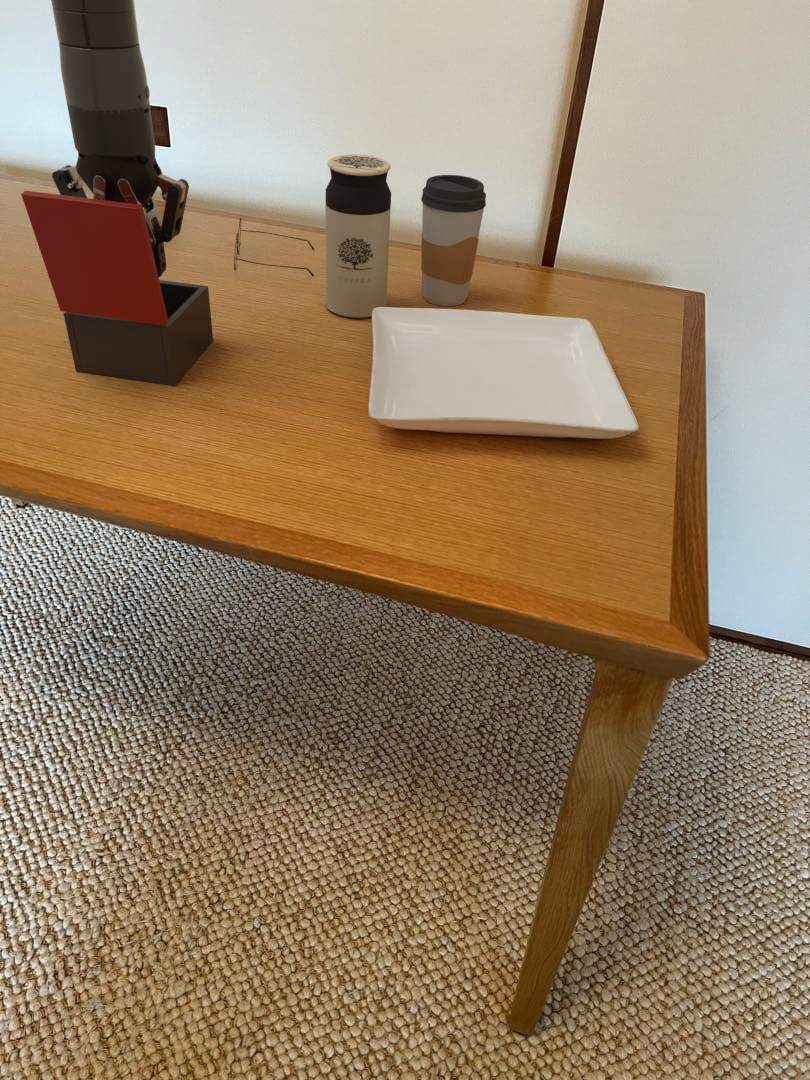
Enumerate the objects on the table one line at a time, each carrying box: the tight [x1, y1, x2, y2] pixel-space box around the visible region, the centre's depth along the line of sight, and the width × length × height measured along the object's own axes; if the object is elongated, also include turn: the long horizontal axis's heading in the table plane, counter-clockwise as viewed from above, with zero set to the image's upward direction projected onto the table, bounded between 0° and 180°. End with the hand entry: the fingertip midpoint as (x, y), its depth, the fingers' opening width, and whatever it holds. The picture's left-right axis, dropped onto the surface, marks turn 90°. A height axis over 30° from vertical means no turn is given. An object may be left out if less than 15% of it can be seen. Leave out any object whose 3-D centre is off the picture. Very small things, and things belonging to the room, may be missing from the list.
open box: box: [63, 279, 214, 387], centre depth 92 cm, size 12×12×7 cm
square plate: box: [367, 306, 640, 440], centre depth 91 cm, size 27×27×4 cm
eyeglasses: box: [233, 217, 315, 277], centre depth 117 cm, size 11×13×5 cm
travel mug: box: [325, 154, 392, 319], centre depth 102 cm, size 8×8×18 cm
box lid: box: [20, 190, 168, 326], centre depth 80 cm, size 13×12×1 cm
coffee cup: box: [420, 174, 487, 307], centre depth 107 cm, size 8×8×15 cm
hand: (135, 273), depth 88 cm, fingers closed on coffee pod, 4 cm apart
